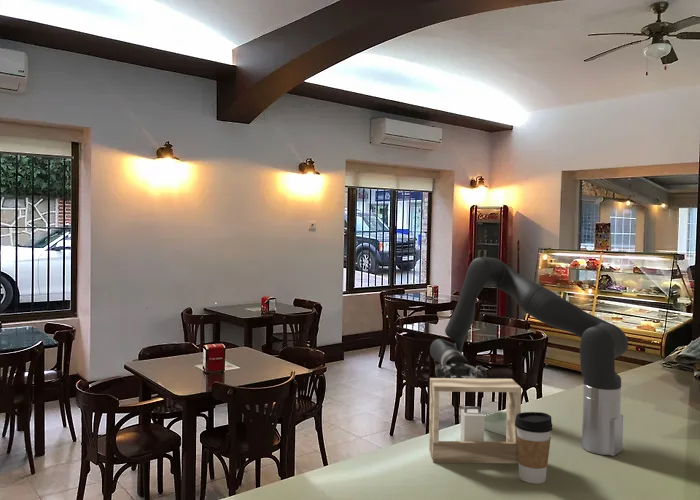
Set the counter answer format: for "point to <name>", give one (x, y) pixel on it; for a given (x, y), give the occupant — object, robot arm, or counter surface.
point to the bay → (474, 449)
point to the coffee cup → (533, 445)
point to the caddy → (472, 424)
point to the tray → (496, 422)
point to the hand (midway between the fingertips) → (464, 378)
